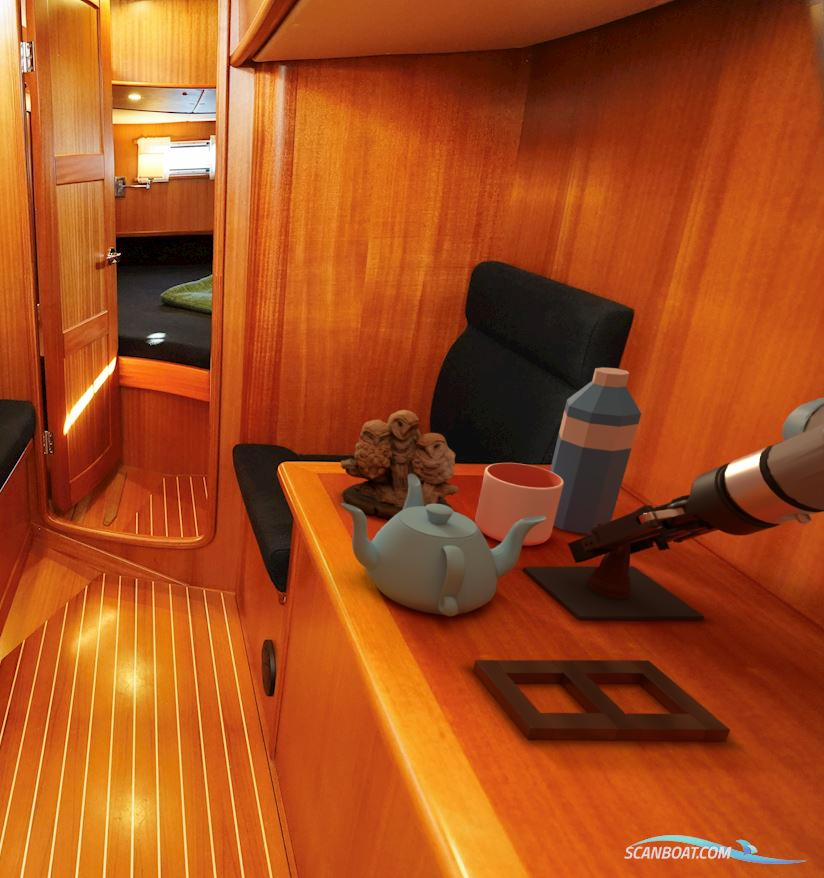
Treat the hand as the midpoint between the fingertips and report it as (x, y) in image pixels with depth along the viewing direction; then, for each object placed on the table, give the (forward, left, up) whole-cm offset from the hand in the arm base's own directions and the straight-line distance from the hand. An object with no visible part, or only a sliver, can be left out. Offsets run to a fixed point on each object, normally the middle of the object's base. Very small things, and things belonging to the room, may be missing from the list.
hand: (591, 551), depth 95 cm
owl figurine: (+16, -23, -5) cm, 29 cm away
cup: (+2, -13, -5) cm, 14 cm away
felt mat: (-1, +4, -4) cm, 6 cm away
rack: (+15, +25, -4) cm, 29 cm away
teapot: (+22, +1, -5) cm, 22 cm away
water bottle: (-10, -17, -5) cm, 20 cm away
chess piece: (-1, +4, -4) cm, 5 cm away
